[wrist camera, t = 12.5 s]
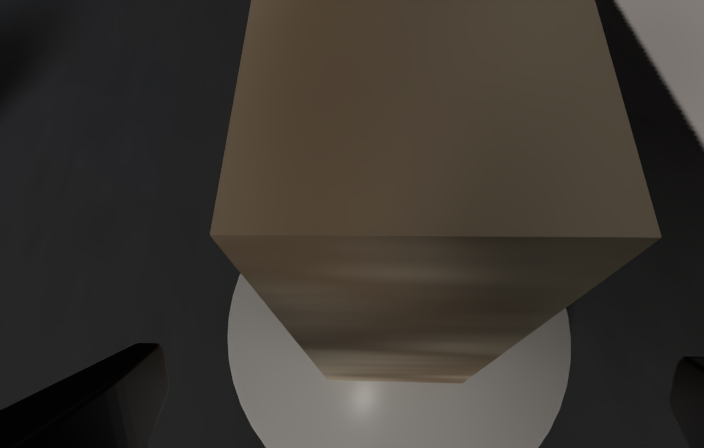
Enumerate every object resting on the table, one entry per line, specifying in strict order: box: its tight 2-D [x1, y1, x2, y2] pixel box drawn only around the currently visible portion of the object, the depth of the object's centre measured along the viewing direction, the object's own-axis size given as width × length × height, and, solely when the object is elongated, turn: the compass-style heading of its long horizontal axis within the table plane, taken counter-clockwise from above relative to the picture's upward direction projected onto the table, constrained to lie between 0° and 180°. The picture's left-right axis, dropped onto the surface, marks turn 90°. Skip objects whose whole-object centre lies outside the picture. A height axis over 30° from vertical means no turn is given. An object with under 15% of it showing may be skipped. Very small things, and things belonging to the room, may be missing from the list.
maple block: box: [210, 0, 662, 383], centre depth 11 cm, size 4×4×12 cm
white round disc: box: [228, 274, 571, 448], centre depth 18 cm, size 12×12×2 cm
